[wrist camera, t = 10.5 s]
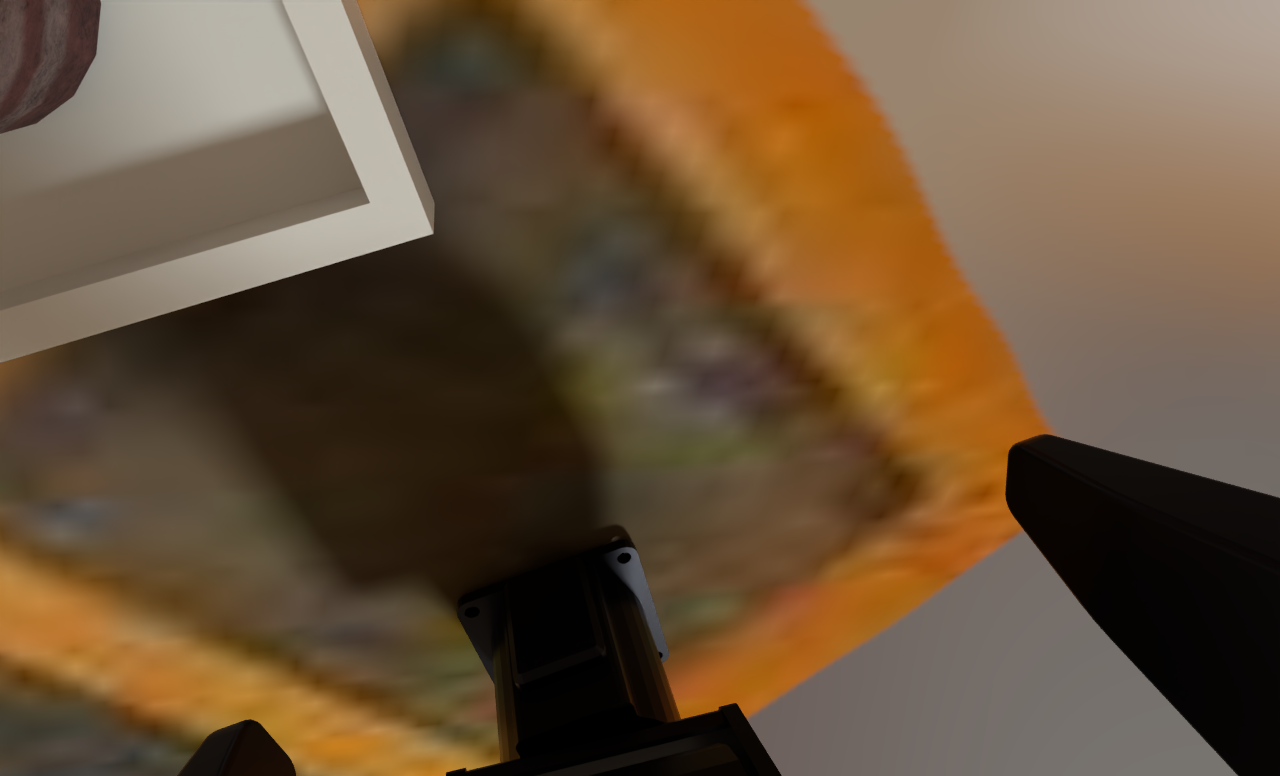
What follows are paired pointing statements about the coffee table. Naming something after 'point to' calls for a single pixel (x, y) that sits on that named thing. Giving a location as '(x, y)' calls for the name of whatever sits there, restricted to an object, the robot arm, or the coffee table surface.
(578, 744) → the robot arm
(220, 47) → the tray
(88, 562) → the coffee table surface
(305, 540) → the coffee table surface
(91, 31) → the can
